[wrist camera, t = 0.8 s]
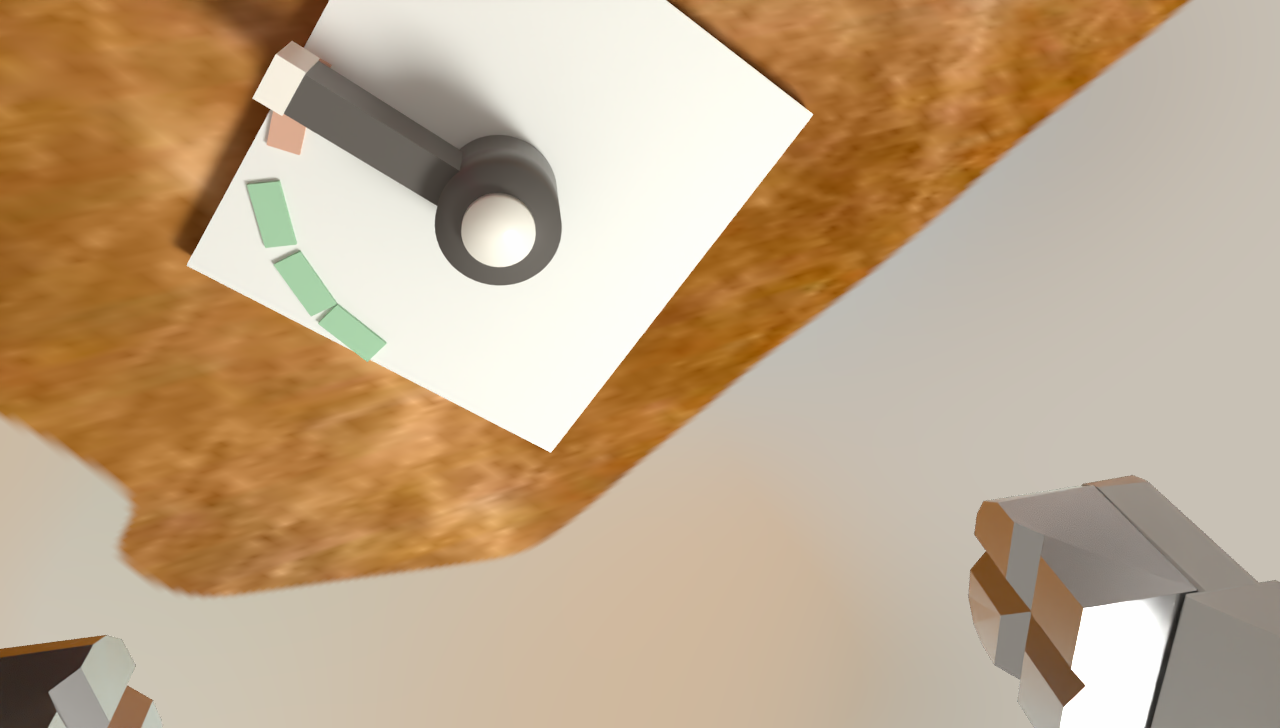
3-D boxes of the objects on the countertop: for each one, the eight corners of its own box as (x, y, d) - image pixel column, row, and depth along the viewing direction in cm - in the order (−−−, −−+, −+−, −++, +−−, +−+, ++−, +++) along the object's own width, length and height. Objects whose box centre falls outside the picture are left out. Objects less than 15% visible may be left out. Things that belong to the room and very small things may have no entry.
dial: (578, 176, 42) (587, 215, 37) (517, 264, 44) (518, 312, 39) (315, 3, 37) (286, 23, 32) (258, 109, 39) (223, 143, 34)
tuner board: (427, -185, 36) (424, -187, 34) (807, 109, 43) (814, 115, 42) (189, 256, 43) (181, 266, 42) (549, 443, 50) (550, 455, 49)
